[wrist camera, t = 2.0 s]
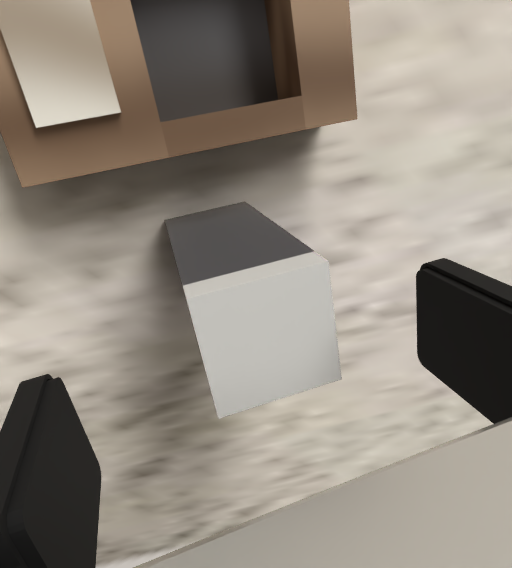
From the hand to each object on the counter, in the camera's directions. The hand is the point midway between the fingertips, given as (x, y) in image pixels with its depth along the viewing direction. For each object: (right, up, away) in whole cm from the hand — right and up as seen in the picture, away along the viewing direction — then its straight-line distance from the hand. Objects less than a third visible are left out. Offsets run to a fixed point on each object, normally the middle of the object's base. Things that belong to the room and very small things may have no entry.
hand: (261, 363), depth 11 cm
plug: (-2, +4, +10) cm, 11 cm away
